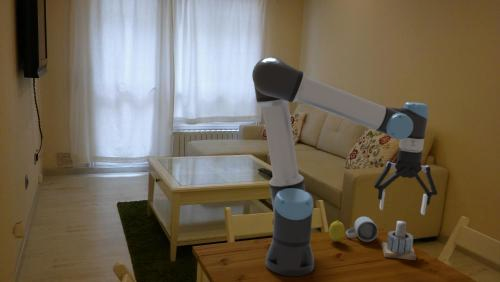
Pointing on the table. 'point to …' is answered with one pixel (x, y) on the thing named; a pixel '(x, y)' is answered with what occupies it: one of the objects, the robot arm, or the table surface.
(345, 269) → the table surface
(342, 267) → the table surface
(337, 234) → the lemon
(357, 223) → the ceramic mug
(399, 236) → the shaft stand
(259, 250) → the table surface
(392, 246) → the ring
